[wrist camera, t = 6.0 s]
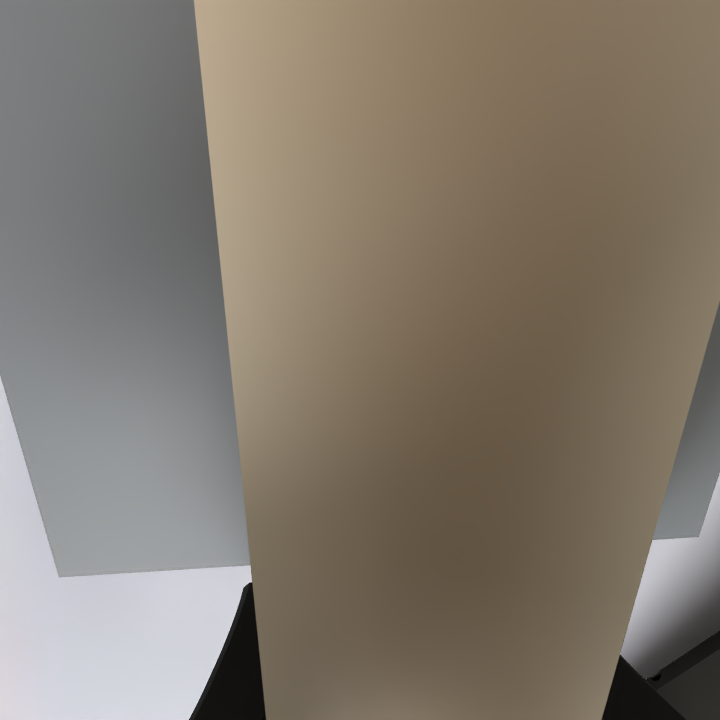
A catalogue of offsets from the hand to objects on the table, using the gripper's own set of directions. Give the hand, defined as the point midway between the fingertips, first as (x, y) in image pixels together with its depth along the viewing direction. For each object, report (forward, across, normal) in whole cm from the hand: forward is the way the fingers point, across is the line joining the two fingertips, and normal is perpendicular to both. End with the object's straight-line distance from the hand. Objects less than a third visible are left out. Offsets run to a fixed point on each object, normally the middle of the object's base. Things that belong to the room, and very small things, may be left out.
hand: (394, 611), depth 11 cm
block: (0, 0, -5) cm, 5 cm away
